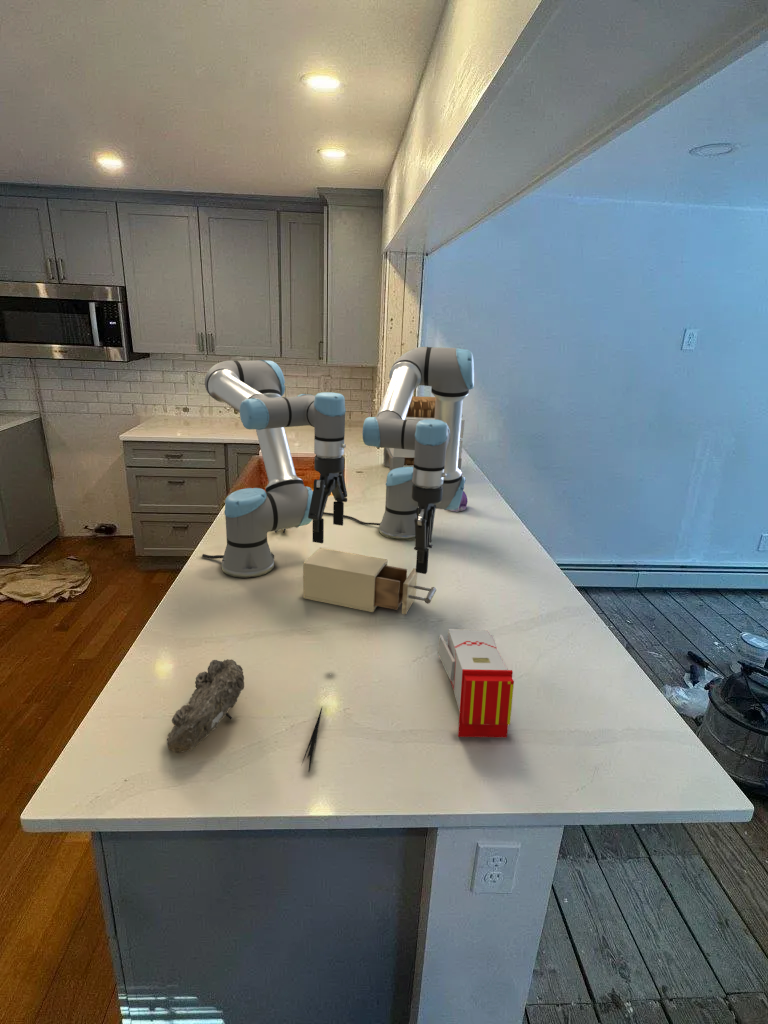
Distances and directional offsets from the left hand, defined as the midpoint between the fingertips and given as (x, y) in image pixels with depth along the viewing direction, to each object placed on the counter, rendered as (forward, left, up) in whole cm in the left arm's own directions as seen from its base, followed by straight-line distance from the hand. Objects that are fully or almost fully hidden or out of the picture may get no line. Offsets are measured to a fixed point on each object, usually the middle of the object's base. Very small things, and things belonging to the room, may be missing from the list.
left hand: (328, 533), depth 151 cm
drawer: (+17, +3, -17) cm, 24 cm away
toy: (+49, -21, -18) cm, 56 cm away
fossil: (+9, -54, -18) cm, 57 cm away
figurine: (+5, +87, -18) cm, 89 cm away
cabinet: (+5, +1, -18) cm, 19 cm away
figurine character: (-40, +32, -18) cm, 54 cm away
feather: (+27, -44, -18) cm, 54 cm away
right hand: (+26, +4, -7) cm, 27 cm away
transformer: (-29, +126, -18) cm, 131 cm away
